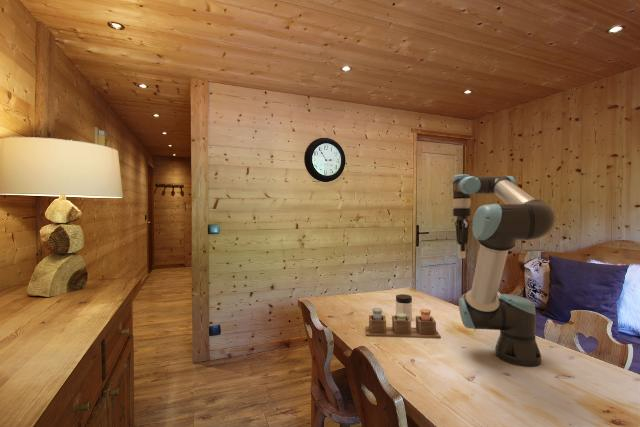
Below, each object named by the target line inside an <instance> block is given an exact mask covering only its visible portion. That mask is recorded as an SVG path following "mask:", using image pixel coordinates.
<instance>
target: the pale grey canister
mask: <svg viewBox="0 0 640 427" xmlns="http://www.w3.org/2000/svg"><path fill="white" fill-rule="evenodd" d="M371 309H372V310H371V311H372V315H373V320H382V314H383V309H382V308H380V307H374V308H371Z"/></svg>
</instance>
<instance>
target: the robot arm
mask: <svg viewBox="0 0 640 427" xmlns="http://www.w3.org/2000/svg"><path fill="white" fill-rule="evenodd" d="M451 183H452V207H453V209H452V216H453V217H456V220H455V222H454V226H455V235H456V243H458V244H457V245H458V248H457V249H458V259H466V256H467V255H466V254H467V253H466V247H467V246H466V244H468V240H469V228H470V222H468V218H467V217H471V213H472V212H471V208H470V207H471V204H472V200H471V195H492V194H493V195H496V196H497V197H498V198H499V199H500V200H501V201H502V202H503V203H501V204H500V203H499V204H498V203H491V204H483V205H481V206H479V207H478V208H477V209H476V211H475V213H474V215H473V218H472V234H473V237H474V238H475V239H476V242H477V243H478V244H479V250H478V254H477V260H476V265H475V270H474V274H473V275H474V276H473V280H472V285H471V289H470V290H468V291H467V292H466V294H465V297H460V298H459V300H458V310H459V315H460V319H461V323H462V324H463V326H464V327H465V328H466V329H471V330H472V329H473V330H487V331H488V330H493V331H494V330H495V331H499V336H498V338H497V342H496V344H495V346H494V347H495V348H494V353H495V356H496V357H497V358H498V359H501V361H505V362H507V363H510V364H512V365H517V366H521V367H523V366H524V367H535V366H538V365H541V364H542V355H541V354H542V353H541V351H540V348H539V346H538V343H537V341H536V340H537V339H536V322H537V321H536V317H537V316H536V315H537V311H536V305H535V303H534V302H533V301H532V300H530V299H528V298H526V297H522V296H518V295H514V294H508V293H501V294H500V295H499V297H497V295H498V292H499V288H500V285H501V280H502V278H503V273H504V268H505V264H506V262H507V257H508V253H509V251H512V250H513V249H515V247H516V243H517V241H523V240H524V241H531V240H533V241H534V240H538V239H540V238H543V237H545V236H546V235H547V234H549V233H550V232H551V231H552V229H553V228H554V226H555V224H556V214H555V210H554V209H553V208H552V207H551V205H549V204H548V203H547V202H545V201H544V200H542V199H537V198H534V197H533V196H531V195H530V194H528V193H527V192H526V191H524V190H523V189H522V188H520V187H519V186H517V181H516V179H515V177H514V176H512V175H501V176H500V175H497V176H496V175H495V176H474V175H473V176H470V174H465V173H464V174H455V175H453V177H452V182H451Z"/></svg>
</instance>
